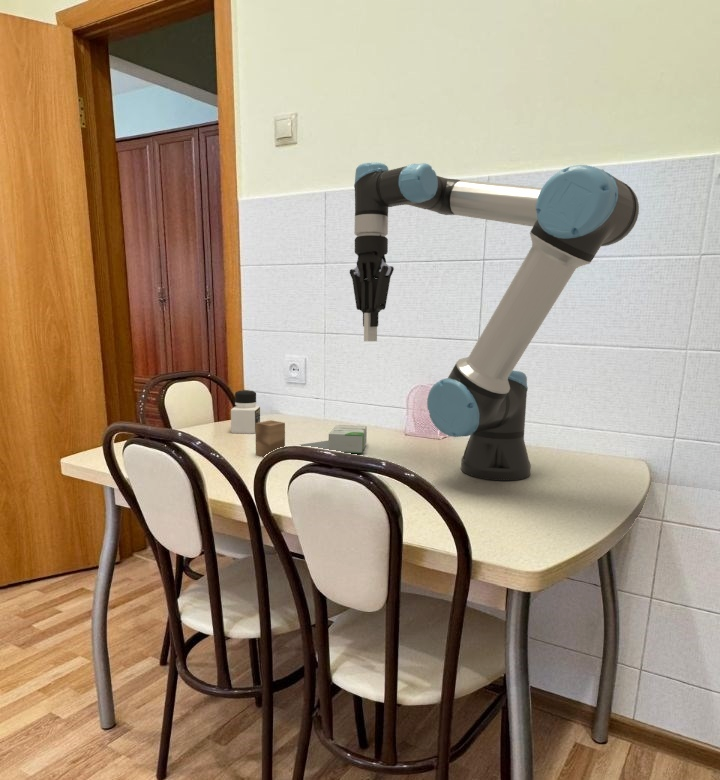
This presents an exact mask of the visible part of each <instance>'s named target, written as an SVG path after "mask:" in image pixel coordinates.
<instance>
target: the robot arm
mask: <svg viewBox="0 0 720 780" xmlns="http://www.w3.org/2000/svg"><path fill="white" fill-rule="evenodd" d="M354 174H355V175H354V185H353V187H354V231H353V232H354V235H355V238H354V253H355V255H357V260H356V266H355V268H352V269H350V270H349V275H350V277H351V281H352V285H353V286H352V288H353V294H354V301H355V305H356V306H355V307H356V310H359V311H361V312H362V327H363V342H378V327H379V313H380V312H381V311H382V310H385V309H386V305H387V300H388V294H389V288H390V282H391V277H392V275H393V273H394V270H395V268H394V266H392V265H388V263H387V260H386V256H385V255H387V254H388V252H389V251H388V248H389V247H388V246H389V240H388V238H387V235H388V232H389V230H388V229H389V227H388V225H389V221H388V220H389V208H392V207H398V206H411V207H415V208H419V209H422V210H428V211H431V212H434V213H437V214H441V215H445V216H454V215H455V216H461V217H466V218H467V217H468V218H474V219H481V220H487V221H494V222H500V223H508V224H514V225H521V226H528V227H531V230H530V232H529V234H530V238H531V239H530V240H531V247H530V249H529V250H528V253H527V254H526V257H525V258H524V260H523V261H522V263H521V265H520V267H519V268H518V270H517V272H516V274H514V275H515V276H514V277H513V279H512V280H511V282H510V283H509V285H508V287H507V289H506V291H505V293H504V295H503V296H502V298H501V299H500V301H499V303H498V305H497V307H496V308H495V310H494V312H493V313H492V315H491V317H490V319H489V321H488V322H487V324H486V325H485V328H484V329H483V331H482V332H481V335H480V336H479V338H478V340H477V341H476V343H475V345H474V346H473V349H472V350H471V352H470V354H469V355H468V356H467V357H463V358H459V359H458V360H457V361H456V362H455V364H454V366H453V368H452V370H451V371H450V373H449V375H448V376H447V378H443V379H440V380H438V381H437V382H436V383H434V384H433V386H432V387H431V388H430V390H429V392H428V394H427V401H426V402H427V403H426V406H427V411H428V413H429V418H430V420H431V422H432V423H433V424H434V426H435V428H436V429H437V430H438V431H439V432H441V433H442V434H444V435H446V436H449V437H453V438H459V437H461V438H462V437H469V439H468V441H467V444H466V446H465V450H464V451H463V456H462V457H461V462H460V470H461V471H462V472H463V473H464V474H466V475H469V476H471V477H474V478H477V479H478V478H479V479H485V480H492V481H517V480H524V479H526V478H529V477H530V476H531V470H532V469H531V468H532V467H531V465H532V463H531V462H530V459H529V455H528V449H527V446H526V442H525V426H526V409H527V398H528V397H527V396H528V376H527V375H526V373H524V372H523V371H520V370H519V371H518V370H514V369H515V368H516V366H517V364H518V362H519V361H520V359H521V358H522V356H523V354H524V352H526V350H527V348H528V347H529V344H530V343H531V342H532V340H533V338H534V337H535V335H536V334H537V332H538V330H539V329H540V327H541V325H542V324H543V322H544V321H545V320H546V318H547V316H548V314H549V313H550V311H551V310H552V308H553V306H554V305H555V303H556V302H557V300H558V298H559V296H561V293H563V291H564V289H565V287H566V285H567V284H568V283H569V281H570V279H571V277H572V276H573V274H574V273H575V271H576V269H578V268H580V267H583V266H586V265H589V264H591V262H592V261H593V260H594V258H595V256H596V255H597V253H598V251H599V250H600V248H601V247H606V246H610V245H614V244H616V243H618V242H620V241H622V240H623V239H624V238H625V237H626V236H628V235H629V234H630V233H631V231H632V230H633V228H635V225H636V223H637V221H638V218H639V214H640V213H639V211H640V205H639V199H638V196H637V195H636V193H635V191H634V190H633V189H632V187H631V186H630V185H628V184H627V183H626V182H624V181H622V180H620V179H619V178H616V177H615V176H613V175H612V174H611V173H609V172H608V171H605V170H604V169H602V168H598V167H595V166H592V165H587V164H577V165H572V166H568V167H566V168H562V169H561V170H559V171H557V172H556V173H554V174H553V175H552V176H551V177H550V178H549V179H548V180H547V181H546V182H545V183H544V184H543V186H542V187H536V186H527V185H526V186H524V185H516V184H508V183H507V184H506V183H505V184H504V183H495V182H487V181H486V182H484V181H478V180H477V181H475V180H466V179H465V180H463V179H457V178H456V179H455V178H447V177H443V176H439V175H437V173H436V170H435V169H433V168H432V166H431V165H430V164H429V163H426V162H421V163H411V164H407V165H406V166H402V167H398V168H393V169H389V166H388V165H386V164H385V163H381V162H373V161H372V162H365V163H360V164H359V165H358V166H357V167H356V168H355V173H354Z"/></svg>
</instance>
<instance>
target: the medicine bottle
mask: <svg viewBox="0 0 720 780" xmlns="http://www.w3.org/2000/svg"><path fill="white" fill-rule="evenodd" d="M234 399H235V400H234V405H235V406H233V407H232V408H231V409H230V432H231V434H244V433H252V434H251V435H254V434H255V435H256V423H259V422H261V406H260V405H257V392H255V391H254V390H250V389H249V390H248V389H247V390H246V389H243V390H237V391H236V392H235V393H234Z"/></svg>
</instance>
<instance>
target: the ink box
mask: <svg viewBox="0 0 720 780" xmlns="http://www.w3.org/2000/svg"><path fill="white" fill-rule="evenodd" d="M367 427H368V426H367V425H359V424H358V425H354V424H336V425H335V426H333V428H331V430H330V432H329V433H328V440H329V450H336V451H341V452H347V453H346V454H349V453H350V454H362V453H363V452H364V450H365V447H366V444H367V433H368V432H367V429H368V428H367Z"/></svg>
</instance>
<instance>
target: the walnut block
mask: <svg viewBox="0 0 720 780" xmlns="http://www.w3.org/2000/svg"><path fill="white" fill-rule="evenodd" d="M284 446H285V447H286V422H282V421H276V420H273V419H272V420H270V419H269V420H263V421H260V422H259V423H256V433H255V456H258V457H261V456H262V457H261V458H265V457H264V456H265V455H266V454H268V453H269V452H271V451H273V450H275V449H277V448H280V447H284Z"/></svg>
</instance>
